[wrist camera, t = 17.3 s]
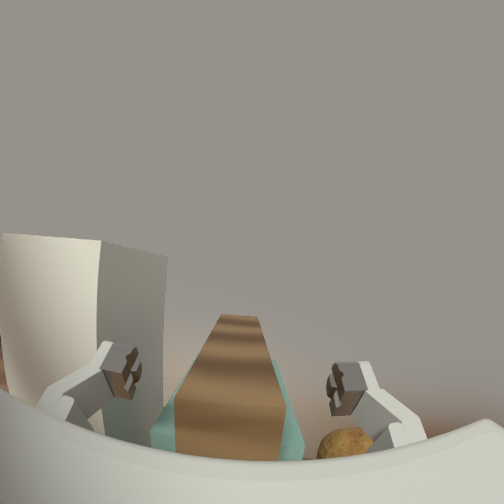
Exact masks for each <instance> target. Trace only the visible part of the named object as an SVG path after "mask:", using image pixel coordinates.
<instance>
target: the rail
mask: <svg viewBox="0 0 504 504" xmlns="http://www.w3.org/2000/svg"><path fill="white" fill-rule="evenodd" d="M285 414H286V404H285V401H284V398H283V395H282V392H281V389H280V385H279V382H278V379H277V376H276V373H275V370H274V367H273V364H272V361H271V358H270V355H269V352H268V349H267V346H266V343H265V339H264V336H263V333H262V330H261V327H260V324H259V321H258V318H257V317H249V316H235V315H225V314H224V315H223V314H221V316H220V317H219V319H218V321H217V323H216V324H215V326H214V328H213V330H212V332H211V333H210V335H209V337H208V339H207V341H206V342H205V344H204V346H203V347H202V349H201V351H200V353H199V354H198V356H197V358H196V360H195V361H194V363H193V365H192V367H191V369H190V370H189V372H188V374H187V376H186V377H185V379H184V381H183V383H182V384H181V386H180V388H179V390H178V391H177V393H176V395H175V397H174V424H175V450H176V453H182V454H188V455H195V456H202V457H211V458H221V459H233V460H250V461H278V458H279V452H280V446H281V440H282V434H283V428H284V421H285Z"/></svg>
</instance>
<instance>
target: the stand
mask: <svg viewBox="0 0 504 504" xmlns="http://www.w3.org/2000/svg"><path fill="white" fill-rule="evenodd" d="M167 264H168V257H166V256H162V255H158V254H154V253H149V252H145V251H141V250H137V249H132V248H128V247H124V246H120V245H116V244H111V243H108V242H104V241H96V240H84V239H72V238H60V237H47V236H35V235H23V234H11V233H3V239H2V249H1V260H0V331H1V343H2V353H3V360H4V367H5V374H6V379H7V385H8V390H9V394H11V395H13V396H15V397H16V398H18V399H20V400H22V401H24V402H26V403H28V404H30V405H32V406H34V407H36V405H37V404H38V402H39V400H40V398H41V397H42V395H43V393H44V391H45V390H46V388H47V387H48V386H50V385H52V384H53V383H55V382H57V381H59V380H60V379H62V378H64V377H66V376H68V375H69V374H71V373H73V372H75V371H76V370H78V369H80V368H82V367H84V366H85V365H87V366H89V364H90V362H91V361H92V359H93V357H94V355H95V354H96V352H97V350H98V348H99V347H100V345H101V343H102V342H103V341H105V340H106V341H110V342H114V343H119V344H123V345H128V346H133V347H136V348H137V349H138V353H139V354H138V356H137V357H138V358H139V359H140V360H141V364H142V373H141V377H140V380H139V381H138V382H137V383H135V386H136V391H135V393H134V396H133V399H132V400H128V399H123V398H119V397H115V396H114V398H113V399H112V400H111V401H109V402H108V403H107V404H106V405H104V406H103V407H102V408H101V409H100V410H98V411H97V412H96V413H95V414H93V415H92V416H91V417H90V418H89V419H87V420H88V422H89V423H90V424H91V426H92V427H93V429H94V432H97V433H100V434H103V435H106V436H109V437H113V438H116V439H119V440H123V441H127V442H130V443H134V444H138V445H142V446H146V447H151V438H150V430H151V429H152V427H153V425H154V424H155V422H156V421H157V419H158V417H159V416H160V414H161V413H162V411H163V328H164V306H165V290H166V275H167Z"/></svg>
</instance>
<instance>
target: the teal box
mask: <svg viewBox="0 0 504 504" xmlns="http://www.w3.org/2000/svg"><path fill="white" fill-rule="evenodd" d="M198 354H199V353H198ZM197 356H198V355H197ZM197 356H196V358H197ZM196 358H195V360H196ZM195 360H194V361H195ZM194 361H193V363H194ZM271 361H272V364H273V367H274V370H275V373H276V376H277V379H278V382H279V385H280V389H281V392H282V395H283V398H284V401H285V404H286V414H285V421H284V428H283V434H282V440H281V446H280V452H279V458H278V461H298V460H302V458H303V454H304V449H305V443H304V440H303V437H302V434H301V431H300V428H299V426H298V423H297V420H296V417H295V415H294V411H293V409H292V406H291V403H290V400H289V397H288V395H287V392H286V389H285V386H284V383H283V380H282V377H281V374H280V371H279V368H278V365H277V362H276V360H271ZM193 363H192V365H193ZM192 365H191V366H190V368H189V369H188V371H187V373H186V374H185V376H184V377H183V379H182V381H181V382H180V384H179V385H178V387H177V389H176V390H175V392H174V393H173V395H172V397H171V398H170V400H169V401H168V403H167V405H166V406H165V408H164V409H163V411H162V413H161V414H160V416H159V417H158V419H157V421H156V422H155V424H154V425H153V427H152V429H151V430H150V438H151V448H155V449H160V450H165V451H170V452H176V450H175V424H174V397H175V395H176V393H177V391H178V390H179V388H180V386H181V384H182V383H183V381H184V379H185V377H186V376H187V374H188V372H189V370H190V369H191V367H192Z"/></svg>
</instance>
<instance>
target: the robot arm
mask: <svg viewBox="0 0 504 504" xmlns="http://www.w3.org/2000/svg"><path fill="white" fill-rule="evenodd" d="M138 354H139V353H138V349H137V348H136V347H133V346H128V345H123V344H119V343H114V342H110V341H106V340H105V341H103V342H102V343H101V345H100V347H99V348H98V350H97V352H96V354H95V355H94V357H93V359H92V361H91V362H90V364H89V366H87V365H85V366H84V367H82V368H80V369H78V370H76V371H75V372H73V373H71V374H69V375H68V376H66V377H64V378H62V379H60V380H59V381H57V382H55V383H53V384H52V385H50V386H48V387H47V388H46V390H45V391H44V393H43V395H42V397H41V398H40V400H39V402H38V404H37V405H36V407H34V406H32V405H30V404H28V403H26V402H24V401H22V400H20V399H18V398H16V397H15V396H13V395H11V394H9V393H8V392H6V391H4V390H2V389H1V388H0V504H504V429H503V428H502V427H501V426H499V425H498V424H496V423H495V422H493V421H491V420H489V419H481V420H479V421H476V422H474V423H471V424H469V425H467V426H464V427H461V428H459V429H456V430H453V431H450V432H448V433H445V434H442V435H439V436H436V437H432V438H429V439H427V437H426V434H425V432H424V429H423V426H422V424H421V421H420V419H419V417H418V416H417V415H416V414H414V413H413V412H412V411H410V410H409V409H408V408H407V407H405V406H404V405H403V404H401V403H400V402H399V401H398V400H396V399H395V398H394V397H392V396H391V395H390V394H389V393H387V392H386V391H385V390H384V389H380V388H379V386H378V383H377V381H376V378H375V375H374V372H373V371H372V368H371V365H370V363H369V362H368V361H362V362H338V363H335V364H333V367H332V372H333V373H332V374H330V375H329V377H328V380H327V385H326V390H327V396H328V397H329V398H330V399H331V401H330V403H329V406H330V410H331V414H332V416H345V415H350V417H351V418H352V419H353V420H354V421H355V422H356V423H357V424H358V426H359V427H360V428H361V429H362V430H363V431H364V432H365V433H366V434H367V435H368V437H369V438H370V439H371V440H372V441H373V442H374V443H373V444H372V445H371V446H370V447H369V448H368V450H367V451H366V452H365V454H359V455H352V456H345V457H336V458H327V459H315V460H298V461H250V460H233V459H221V458H211V457H202V456H195V455H188V454H182V453H176V452H170V451H165V450H160V449H155V448H151V447H146V446H142V445H138V444H134V443H130V442H127V441H123V440H119V439H116V438H113V437H109V436H106V435H103V434H100V433H97V432H94V429H93V427H92V426H91V424H90V423H89V422H88V420H87V419H89V418H90V417H91V416H92V415H93V414H95V413H96V412H97V411H98V410H100V409H101V408H102V407H103V406H104V405H106V404H107V403H108V402H109V401H111V400H112V399H113V398H114V396H115V397H119V398H123V399H128V400H132V399H133V396H134V393H135V391H136V386H135V383H137V382H138V381H139V380H140V377H141V373H142V364H141V360H140V359H139V358H138V357H137V356H138Z"/></svg>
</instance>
